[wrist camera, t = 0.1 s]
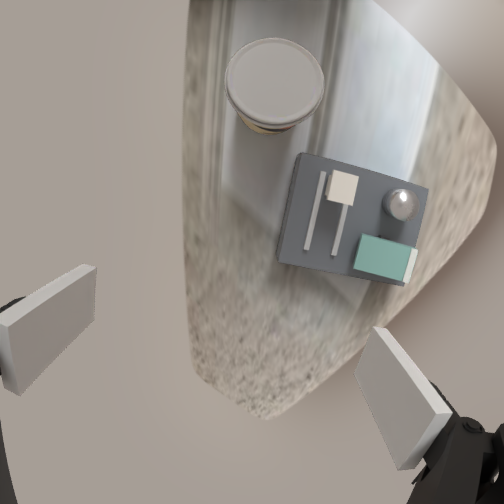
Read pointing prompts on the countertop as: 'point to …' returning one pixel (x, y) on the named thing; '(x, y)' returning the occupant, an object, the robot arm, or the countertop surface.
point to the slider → (341, 187)
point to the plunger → (401, 204)
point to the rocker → (385, 258)
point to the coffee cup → (273, 84)
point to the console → (340, 218)
